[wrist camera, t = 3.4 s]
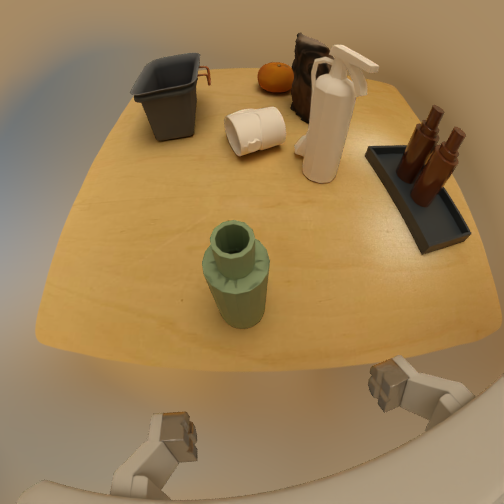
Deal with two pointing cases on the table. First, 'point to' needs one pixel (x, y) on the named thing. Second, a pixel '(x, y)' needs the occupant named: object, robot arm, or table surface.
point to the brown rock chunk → (306, 73)
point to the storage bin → (170, 94)
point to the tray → (416, 217)
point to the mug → (254, 129)
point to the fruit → (276, 77)
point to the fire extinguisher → (332, 112)
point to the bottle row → (429, 159)
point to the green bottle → (237, 273)
